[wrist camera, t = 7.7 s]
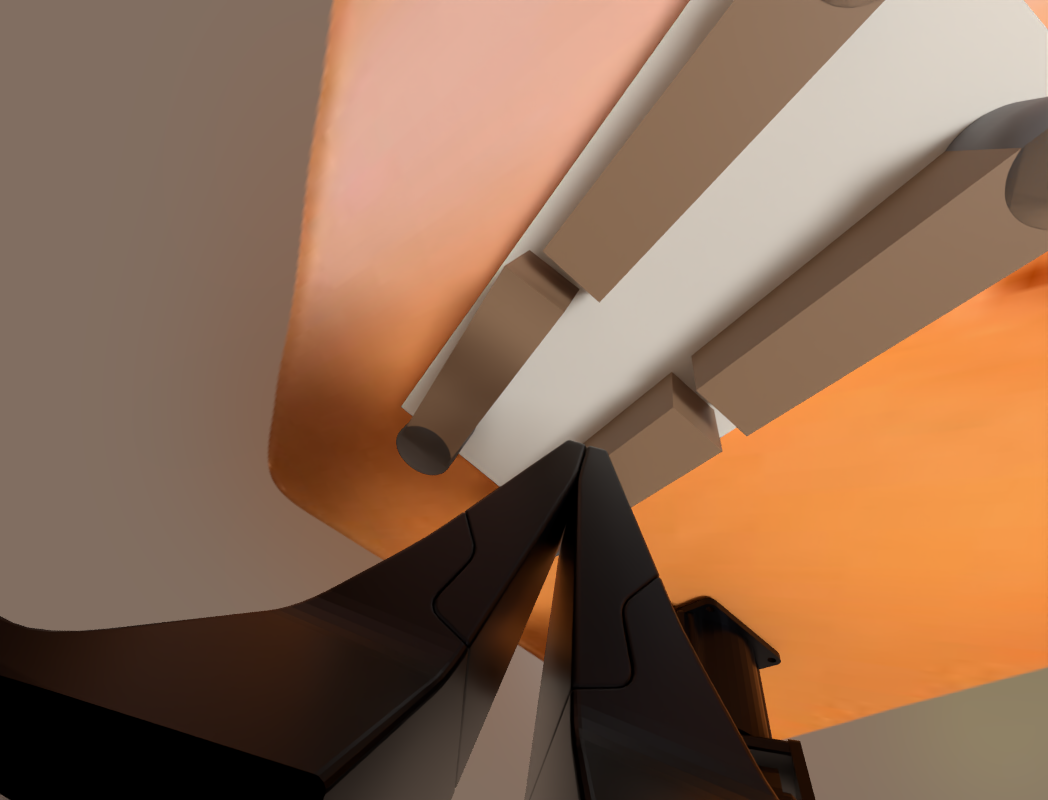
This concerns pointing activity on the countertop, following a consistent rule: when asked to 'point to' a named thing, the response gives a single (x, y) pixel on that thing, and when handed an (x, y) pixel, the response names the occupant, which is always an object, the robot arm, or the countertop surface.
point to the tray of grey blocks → (772, 222)
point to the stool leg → (485, 361)
